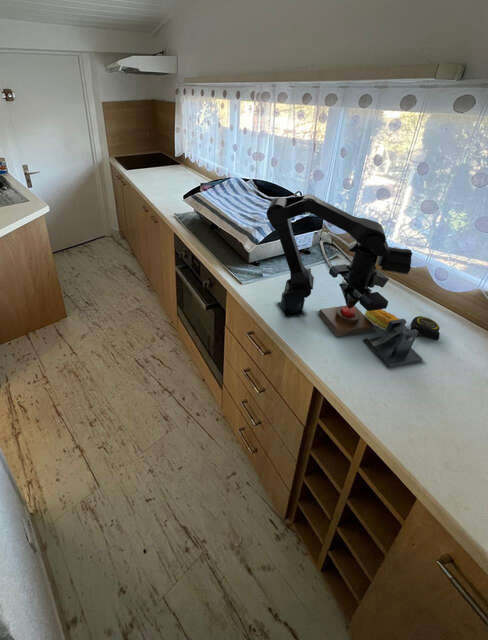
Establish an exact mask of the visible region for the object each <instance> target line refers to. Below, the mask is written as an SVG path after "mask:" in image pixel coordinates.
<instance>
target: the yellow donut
mask: <svg viewBox="0 0 488 640" xmlns="http://www.w3.org/2000/svg"><path fill="white" fill-rule="evenodd" d="M364 315H365V317H366V318H367V319H368V320H369V321H370V322H371V323H372V324H373V325H374V326H375V327H376V328H379V329H381V330H382V331H384V332H385V331H386V329H387V327H388V324H389V322H390V321H392V320H399V319H400V318H399V317H397V316H396V315H395V314H392V313H390V312H388V311H386V310H384V309H380V310H373V311H368V310H366V311H365V312H364Z"/></svg>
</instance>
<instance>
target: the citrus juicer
mask: <svg viewBox="0 0 488 640" xmlns="http://www.w3.org/2000/svg"><path fill="white" fill-rule="evenodd" d="M330 236H331V237H330ZM332 237H334V238H336V239H337V240H339V241H340V242H342V243H343V244H344V245H345V246H347V247H348V248H349V244H350V243H348V242H347V241H346V240H344V239H343V238H341V237H340V236H339V235H336V234H334V233H332V232H330V231H328V233H327V232H324V231H323V232H322V235H321V239H320V240H319V244H320V245H319V246H320V249H321V252H322V254H323V255H322V256H323V257H324V259H325V261H326V263H327V265H328V266H329V269H330V268H331V267H332V266H333V265H332V263H331V262H330V260H329V258H328V256H327V254H326V251H325V247H324V243H326V244H333V245H334V246H335V247H336V248H337V249H338V250H339V252H341V253H342V254H343V255H344V256H345V257H346V258H347V259H348V260H349V261H350V262H351V263H352V260H353V258H352V257H350V256H349V255H348V254H347V253H346V252H345V251H344V250H343V249H342V248H341V247H340V246H338V245H337V244H336V243H335V242H334V241H333V240H332ZM332 241H333V242H332Z"/></svg>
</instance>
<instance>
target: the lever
mask: <svg viewBox="0 0 488 640" xmlns="http://www.w3.org/2000/svg"><path fill="white" fill-rule="evenodd" d="M408 330H410V328H409V327H408V326H407V325H406V324H405V325H404V324H403V323H402V324H400V325H398V326H396V327H395V328H394V332H393V333H391V334H389V335H387V336H385V337H383V336H382V337H383V338H381V339H379V340H377V341H375V342H373V343H371V342H370V341H369V340H368V339H369V338H368V337H365V338H363V339H362V342H363V343H364V345H366V346H367V348H368V349H369V350H370V351H371V352H372V353H373V355H374V356H378V355H379V354H380V352H379V351H378V349H377V348H376V347H378V346H380V345H382V344H384V343H386V342H388V341H390V340H392V339H394V338H396V337H399V335H400V333H401V331H408ZM378 357H379V356H378Z"/></svg>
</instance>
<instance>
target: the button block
mask: <svg viewBox="0 0 488 640" xmlns="http://www.w3.org/2000/svg"><path fill="white" fill-rule="evenodd" d="M343 306H344V305H339V306H332V307H325V308H320V309H319V314H318V315H319V316H320V317H321V318H322V320H323V322H325V324H326V325H327V326H328V328H330V330H331V331H332V332H333V333H334V335H335V336H336V337H345V336H350V335H356V334H363V333H369V332H374V329H375V325H374V324H373V323H371V322H370V321H369V320H368V319H367V317H366V316H365V313H363V312H362V311H361V310H360V309H359V308H358V307H357V306H356V304H355V305H354V306H353V308H354V309H355V314H354V317H352V318H350V317H346V316H344V315H343V314H342V313H341V311H342V308H343ZM345 306H347V305H346V304H345Z"/></svg>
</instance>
